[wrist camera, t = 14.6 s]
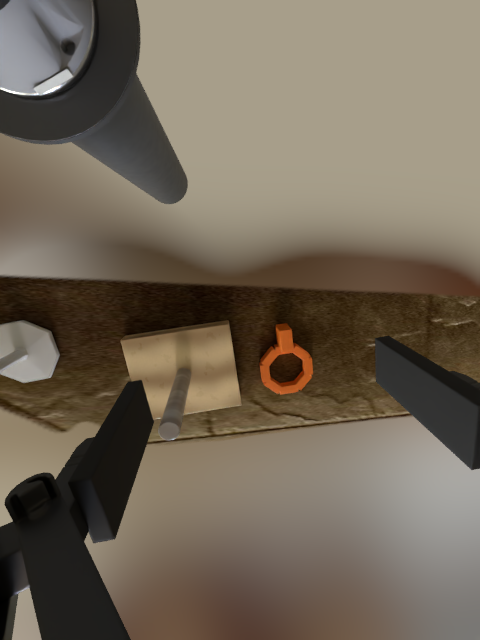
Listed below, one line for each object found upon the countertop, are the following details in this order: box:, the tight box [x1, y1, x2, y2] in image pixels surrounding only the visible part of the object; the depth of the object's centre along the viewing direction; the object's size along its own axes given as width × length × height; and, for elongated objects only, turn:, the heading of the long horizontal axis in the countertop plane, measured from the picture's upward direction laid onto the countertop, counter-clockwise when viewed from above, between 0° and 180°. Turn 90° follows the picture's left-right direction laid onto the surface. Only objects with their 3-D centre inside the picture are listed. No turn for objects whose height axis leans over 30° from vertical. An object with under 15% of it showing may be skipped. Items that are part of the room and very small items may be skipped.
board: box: [121, 320, 242, 440], centre depth 34 cm, size 12×14×14 cm
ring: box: [259, 323, 313, 394], centre depth 40 cm, size 10×7×3 cm
